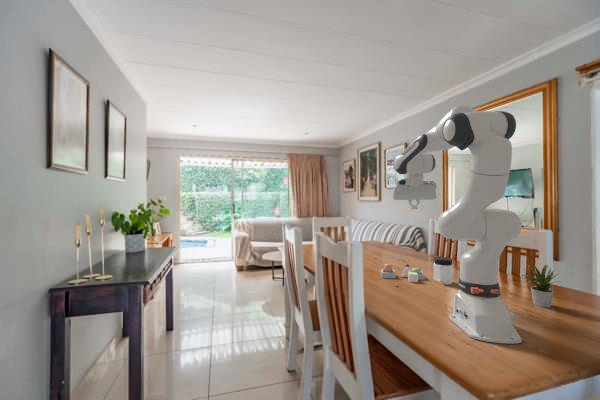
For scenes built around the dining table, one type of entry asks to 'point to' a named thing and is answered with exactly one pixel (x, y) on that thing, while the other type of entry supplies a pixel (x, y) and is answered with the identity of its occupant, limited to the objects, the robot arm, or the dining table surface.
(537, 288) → the house plant
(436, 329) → the dining table surface
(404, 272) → the ball-tipped lever
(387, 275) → the panel
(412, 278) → the slider knob
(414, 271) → the green button
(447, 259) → the jar
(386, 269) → the terracotta button
